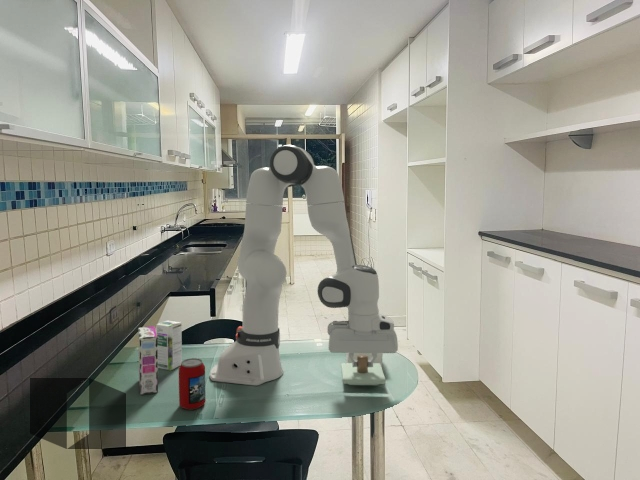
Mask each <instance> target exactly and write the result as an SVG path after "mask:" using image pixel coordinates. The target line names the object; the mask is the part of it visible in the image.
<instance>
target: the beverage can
mask: <svg viewBox="0 0 640 480" xmlns="http://www.w3.org/2000/svg"><path fill="white" fill-rule="evenodd" d="M178 398H179V399H178V402H179V403H178V404H179V406H180V407H181V408H183V409H185V410H190V411H191V410H195V409H196V410H197V409H200V408H201V407H202V406H204V404H205V403H206V366H205V364H204V363H203V360H202V359H201V358H197V357H195V358H194V357H193V358H187V359H184V360H182V362H181V365H180V366H178Z"/></svg>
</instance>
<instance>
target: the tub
mask: <svg viewBox="0 0 640 480" xmlns="http://www.w3.org/2000/svg"><path fill="white" fill-rule="evenodd" d="M358 355H366V356H368V360H370V359H371V357H372V353H354V356H353V358H354V360H357V356H358ZM383 355H384V353H377V357H376V359H375V360H374V362H373V363H380V365H381V368H382V369H383ZM345 358H346V359H345V360H346V363H352V361H351V359H350V357H349V353H345Z"/></svg>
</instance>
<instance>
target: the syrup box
mask: <svg viewBox="0 0 640 480" xmlns="http://www.w3.org/2000/svg"><path fill="white" fill-rule="evenodd" d="M182 326H183V325H182V321H174V320H173V321H172V320H164V321H160V322H159V323H156V326H155V328H156V334H157V345H158V369H161V370H162V369H163V370H165V371H166V370H167V371H169V372H170V371H172V370H174V369H176V368H179V367H180V365H181V362H182V361H183V359H182V358H183V351H182V349H183V347H182V346H183V344H182V343H183V341H182V339H183V338H182V332H183V330H182V328H183V327H182Z"/></svg>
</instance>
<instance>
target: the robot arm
mask: <svg viewBox="0 0 640 480" xmlns="http://www.w3.org/2000/svg"><path fill="white" fill-rule="evenodd" d="M294 186H301V188H303V190H304V193H305V197H306V205H307V214H308V218H309V221H310V224H311V227H312V228H313V229H314V230H315V231H316V232H317V233H319V234H320V235H323V236H324V237H326V238H327V239H328V240H329V241H330V243H331V245H332V250H333V254H334V259H335V263H336V273H333V274H331V275H328V276H326V277H325V278H323V279H321V280H320V282H319V284H318V286H317V295H318V299H319V300H320V302H321V303H322V305H324V306H325V307H327V308H329V309H330V308H332V309H339V308H340V309H341V308H347V313H348V314H347V317H348V318H347V320H332V321H331V322H330V323H328V325H327V334H328V336H329V337H328V351H329V352H330V353H331V354H346V353H349V357H350V359H351V361H352V367H357V360H354V358H353V356H354V353H372V357H371V359H370V360H368V367H373V362H374V360H375V359H376V357H377V353H383V354H396V353H397V352H398V350H399V346H398V345H399V343H398V337H397V333H396V331H395V323H394V321H393V319H392V318H391V317H390V316H387V315H384V314H380V312H379V311H380V310H379V307H378V303H379V298H380V285H379V283H380V282H379V275H378V272H377V270H375V269H374V268H373V267H371V266H369V265H364V264H361V265H360V264H357V263H358V262H357V259H356V256H355V248H354V243H353V238H352V234H351V229H350V227H349V222H348V218H347V211H346V206H345V205H346V204H345V197H344V191H343V187H342V183H341V179H340V176H339V173H338V171H337V170H336V169H335V168H333V167H331V166H327V165H316V162H315V159H314V158H313V156H312V155H311V154H310V153H309V152H308V151H306V150H305V149H304V148H302V147H300V146H296V145H292V144H284V145H281V146H278V147H277V148H276V149H274V151H273V153H272V154H271V156H270V159H269V167H260V168H258V169H255V170H254V171H253V172H252V173H251V175H250V178H249V181H248V187H247V192H246V199H245V201H246V203H245V215H244V217H245V218H244V227H243V228H244V229H243V235H242V241H241V244H240V251H239V255H238V257H237V262H236V264H237V269H238V272H239V274H240V275H241V277H242V278H243V279H244V280H245V281H246V290H245V295H244V296H245V297H244V301H243V303H242V313H241V314H242V326H241V325H240V326H238V327H237V328H236V333H235V341H234V342H232V343H231V344H230V345H228V346H227V347H226V348H224V349H223V351H221V353H220V354H219V357H218V360H217V363H216V364H215V365H214V366H213V367H212V368H211V370H210V373H209V379H210V380H211V381H213V382H220V383H229V384H230V383H231V384H239V385H246V386H260V385H262V384H264V383H267V382H270V381H274V380H276V379H278V378H280V377H281V376H282V375H283V374H284V369H283V366H282V362H281V356H280V345H281V333H280V327H279V305H280V297H281V293H282V288H283V285H284V283H285V281H286V279H287V269H286V266H285V263H284V262H283V261H282V260H281V258H280V257H279V256H277V255H276V254H275V250H276V249H275V248H276V245H277V241H278V239H279V236H280V234H281V231H282V222H283V221H282V220H283V207H284V205H283V203H284V193H285V191H286V189H287V188H289V187H290V188H291V187H294Z"/></svg>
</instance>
